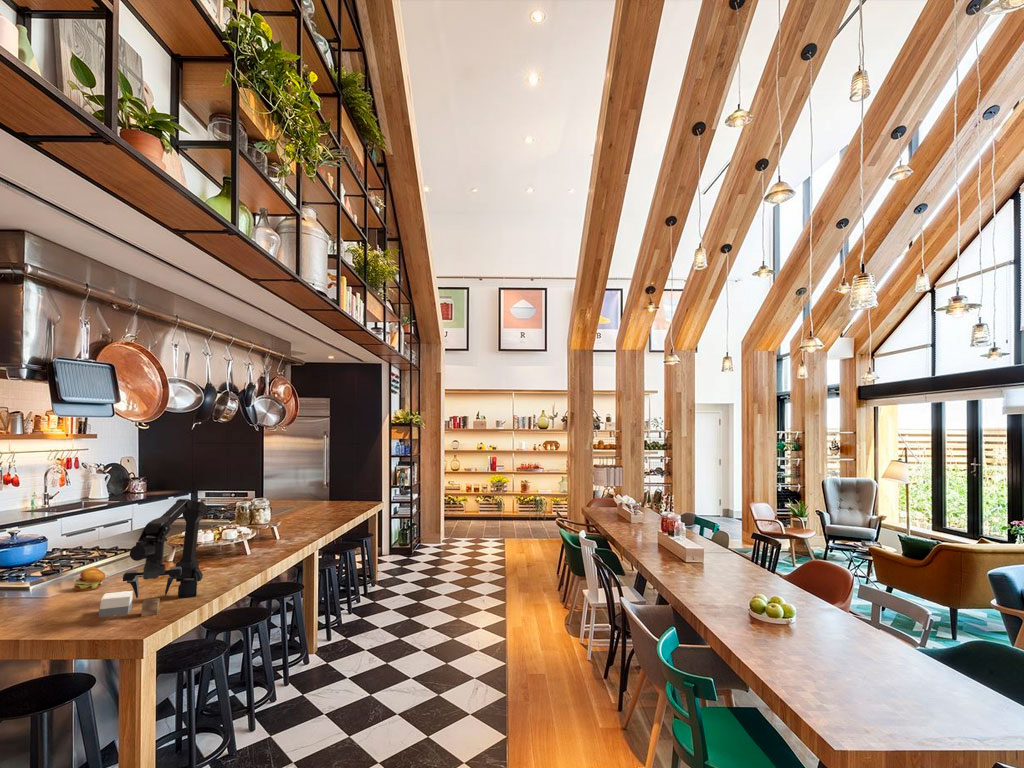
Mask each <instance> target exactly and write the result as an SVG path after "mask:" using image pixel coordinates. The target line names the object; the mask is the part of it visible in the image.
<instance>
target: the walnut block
mask: <svg viewBox="0 0 1024 768" xmlns="http://www.w3.org/2000/svg"><path fill="white" fill-rule="evenodd" d="M159 611H160V598H159V597H158V598H151V599H150V598H149V599H144V600H143V601H142V604H141V618H143V617H142V616H145V617H153V615H154V616H157V615H158V614H159Z"/></svg>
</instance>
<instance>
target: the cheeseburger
mask: <svg viewBox="0 0 1024 768" xmlns="http://www.w3.org/2000/svg"><path fill="white" fill-rule="evenodd" d="M79 576H80V577H79V578H78V579H76V580H74V583H73V588H74V589H75V590H76V591H79V592H87V591H93V590H96V589H99V588H100V587H101V585H103V581H104V580H105V579H106V574H105V572H104V571H101V569H99V568H98V567H88V568H86V569H84V570H83V571H81V572H80V574H79Z"/></svg>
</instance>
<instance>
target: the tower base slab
mask: <svg viewBox="0 0 1024 768" xmlns="http://www.w3.org/2000/svg"><path fill="white" fill-rule="evenodd" d="M132 606H133V600H132V601H131V603H130V605H129V606H125V607H116V608H107V609H100V608H99V609H98V618H99V619H100V617H102V618H108V617H107V616H111V617H115V616H114V615H121V616H124V615H123V614H128V615H129V613H130V612H129V611H131V610H132Z"/></svg>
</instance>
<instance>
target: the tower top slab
mask: <svg viewBox="0 0 1024 768" xmlns="http://www.w3.org/2000/svg"><path fill="white" fill-rule="evenodd" d="M133 594H134V590H127V591H117V592H107V593H104V594H103V596H102V597H101V599H100V605H99V606H100V607H99V609H107V608H116V607H125V606H129V605H130V603H131V601H132V602H133Z"/></svg>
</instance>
